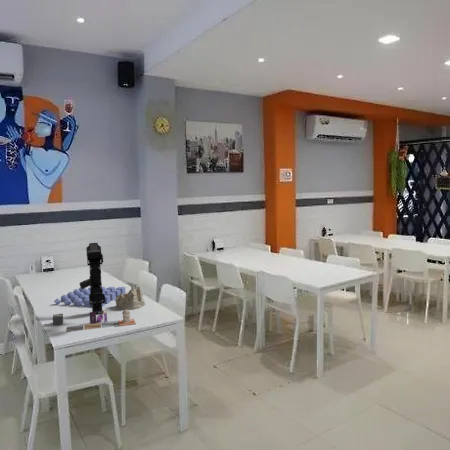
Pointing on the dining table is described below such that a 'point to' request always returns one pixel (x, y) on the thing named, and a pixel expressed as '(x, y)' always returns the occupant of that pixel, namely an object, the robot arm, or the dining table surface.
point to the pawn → (126, 316)
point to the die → (57, 319)
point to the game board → (98, 325)
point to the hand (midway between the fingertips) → (97, 302)
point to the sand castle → (130, 299)
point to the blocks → (82, 296)
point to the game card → (99, 318)
